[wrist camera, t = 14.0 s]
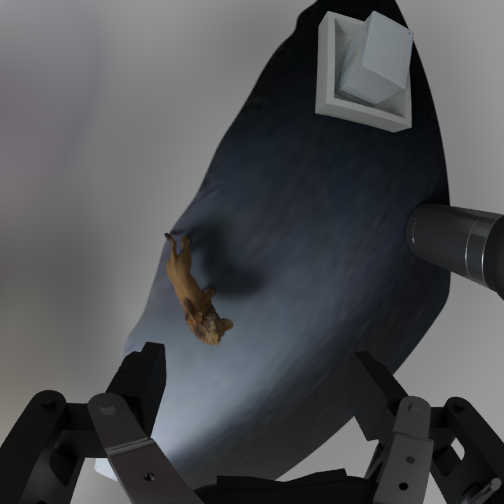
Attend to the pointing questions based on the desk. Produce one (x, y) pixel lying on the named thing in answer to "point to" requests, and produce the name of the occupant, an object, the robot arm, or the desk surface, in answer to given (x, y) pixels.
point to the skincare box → (376, 61)
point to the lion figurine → (194, 297)
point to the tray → (329, 65)
